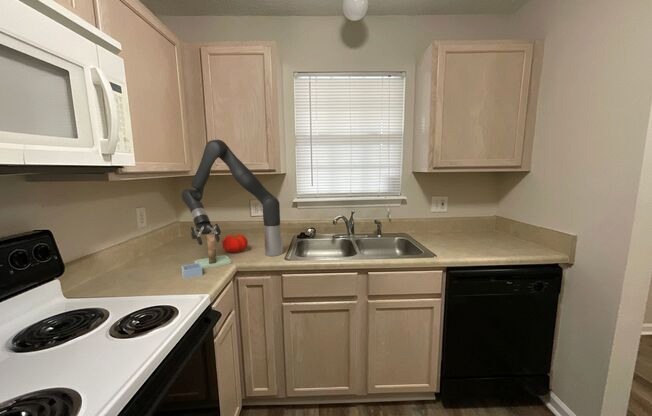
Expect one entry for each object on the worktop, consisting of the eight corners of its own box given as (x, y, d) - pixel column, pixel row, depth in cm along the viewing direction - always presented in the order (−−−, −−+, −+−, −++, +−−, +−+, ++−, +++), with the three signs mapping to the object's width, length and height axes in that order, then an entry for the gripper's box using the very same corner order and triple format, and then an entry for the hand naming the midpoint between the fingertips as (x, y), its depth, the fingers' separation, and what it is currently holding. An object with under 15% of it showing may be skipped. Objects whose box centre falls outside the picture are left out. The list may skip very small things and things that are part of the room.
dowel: (215, 261, 144) (213, 233, 142) (217, 262, 141) (215, 234, 139) (208, 262, 142) (206, 234, 140) (209, 264, 139) (207, 235, 137)
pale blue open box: (200, 271, 132) (199, 262, 132) (202, 276, 126) (202, 267, 125) (182, 275, 128) (181, 265, 127) (184, 280, 122) (183, 270, 121)
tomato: (243, 246, 176) (242, 231, 175) (251, 252, 162) (250, 236, 161) (219, 250, 168) (218, 234, 167) (226, 256, 155) (224, 239, 154)
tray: (226, 258, 151) (225, 254, 151) (231, 264, 141) (231, 260, 141) (194, 264, 143) (194, 260, 142) (197, 271, 133) (197, 267, 132)
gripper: (187, 215, 141) (197, 241, 134) (215, 212, 151) (225, 236, 144) (185, 224, 145) (194, 249, 139) (212, 220, 155) (221, 244, 148)
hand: (210, 242), depth 141 cm, fingers open, 8 cm apart
